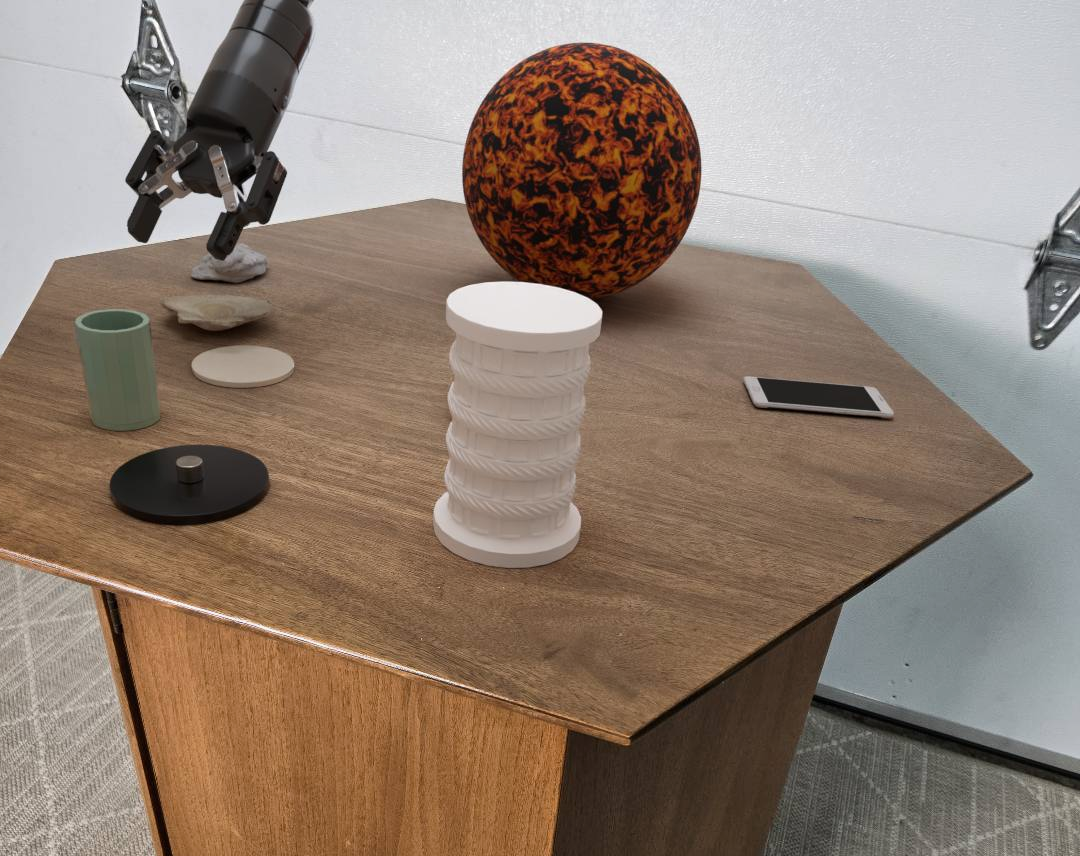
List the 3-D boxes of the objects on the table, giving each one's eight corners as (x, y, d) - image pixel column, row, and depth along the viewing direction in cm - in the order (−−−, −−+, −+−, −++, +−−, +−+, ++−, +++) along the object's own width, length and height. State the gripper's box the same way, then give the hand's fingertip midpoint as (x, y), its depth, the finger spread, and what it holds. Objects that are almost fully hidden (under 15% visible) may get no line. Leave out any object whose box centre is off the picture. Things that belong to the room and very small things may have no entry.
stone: (264, 242, 130) (274, 244, 121) (266, 278, 131) (276, 283, 123) (185, 241, 126) (190, 243, 118) (188, 278, 128) (193, 283, 119)
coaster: (170, 368, 98) (169, 363, 98) (245, 343, 105) (244, 338, 105) (242, 396, 94) (241, 390, 93) (315, 368, 101) (314, 362, 101)
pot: (76, 417, 87) (60, 319, 82) (131, 398, 91) (118, 304, 87) (120, 437, 85) (105, 337, 80) (174, 416, 89) (163, 320, 84)
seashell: (239, 301, 117) (237, 277, 115) (294, 330, 110) (293, 305, 108) (145, 318, 109) (142, 293, 108) (199, 350, 102) (196, 324, 101)
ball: (528, 344, 113) (552, 55, 97) (419, 269, 134) (425, 22, 118) (726, 320, 127) (775, 64, 111) (600, 256, 148) (626, 33, 132)
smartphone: (742, 375, 108) (875, 386, 109) (741, 380, 109) (874, 391, 109) (754, 402, 102) (896, 414, 102) (753, 408, 102) (894, 420, 103)
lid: (77, 490, 76) (72, 464, 75) (198, 439, 85) (195, 415, 84) (184, 542, 71) (181, 515, 70) (300, 483, 80) (299, 458, 79)
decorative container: (429, 564, 72) (438, 328, 62) (435, 488, 82) (443, 274, 72) (586, 571, 73) (617, 340, 63) (573, 496, 83) (599, 285, 73)
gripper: (158, 57, 90) (85, 208, 86) (292, 77, 86) (220, 237, 83) (201, 113, 97) (134, 255, 93) (326, 134, 93) (261, 283, 90)
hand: (175, 246), depth 88 cm, fingers open, 8 cm apart
